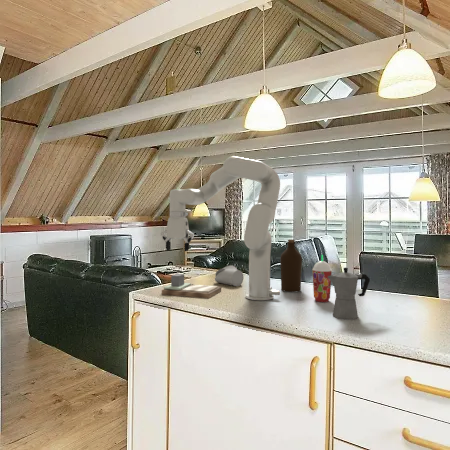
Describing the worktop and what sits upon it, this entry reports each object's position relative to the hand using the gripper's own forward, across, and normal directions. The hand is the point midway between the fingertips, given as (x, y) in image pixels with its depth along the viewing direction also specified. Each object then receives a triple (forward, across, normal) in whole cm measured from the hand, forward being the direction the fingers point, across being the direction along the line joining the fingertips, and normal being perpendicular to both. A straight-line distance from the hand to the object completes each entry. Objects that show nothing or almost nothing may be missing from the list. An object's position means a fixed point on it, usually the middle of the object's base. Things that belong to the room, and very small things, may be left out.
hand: (177, 250), depth 180 cm
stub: (+18, 0, 0) cm, 18 cm away
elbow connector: (+20, -17, -31) cm, 41 cm away
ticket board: (+20, -8, 0) cm, 21 cm away
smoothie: (+20, -68, -3) cm, 71 cm away
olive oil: (+20, -52, -21) cm, 59 cm away
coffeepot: (+19, -79, +19) cm, 83 cm away
